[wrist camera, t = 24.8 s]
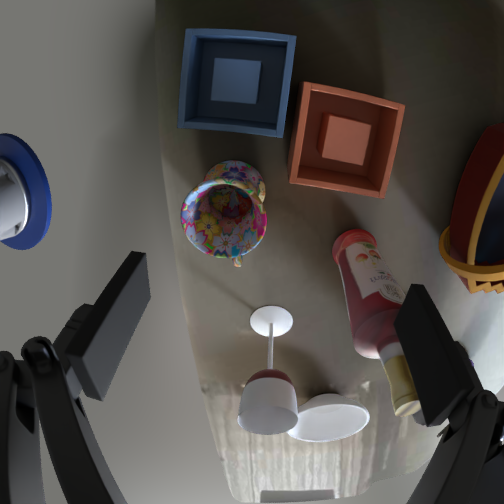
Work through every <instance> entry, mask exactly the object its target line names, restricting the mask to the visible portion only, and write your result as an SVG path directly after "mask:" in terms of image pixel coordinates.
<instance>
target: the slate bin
mask: <svg viewBox="0 0 504 504" xmlns="http://www.w3.org/2000/svg"><path fill="white" fill-rule="evenodd" d="M295 43H296V36H294V35H287V34H279V33H271V32H261V31H250V30H236V29H208V28H194V29H186V32H185V40H184V49H183V59H182V69H181V81H180V93H179V107H178V124H177V128H188V129H204V130H217V131H228V132H239V133H248V134H257V135H265V136H273V137H280V138H283V132H284V125H285V118H286V111H287V103H288V96H289V88H290V81H291V74H292V66H293V58H294V51H295ZM215 58H228V59H243V60H254V61H261V63H262V65H263V66H262V75H261V83H260V91H259V100H258V103H256V104H248V103H238V102H225V101H211V91H212V80H213V70H214V61H215Z"/></svg>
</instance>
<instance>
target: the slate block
mask: <svg viewBox="0 0 504 504" xmlns="http://www.w3.org/2000/svg"><path fill="white" fill-rule="evenodd" d="M262 66H263V65H262V63H261V61H254V60H243V59H228V58H215V61H214V70H213V80H212V91H211V101H225V102H238V103H248V104H256V103H258V100H259V91H260V83H261V75H262Z"/></svg>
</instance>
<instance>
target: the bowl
mask: <svg viewBox="0 0 504 504" xmlns="http://www.w3.org/2000/svg"><path fill="white" fill-rule="evenodd" d="M297 409H298V423H297V424H296V426H295V427H293V428H292V429H290V430H288V431H286V432H287V433H288V434H289V435H290V436H292V437H294V438H296V439H299V440H303V441H309V442H325V441H333V440H338V439H341V438H345V437H347V436H350V435H352V434H354V433H356V432H358V431H359V430H361V429H362V428H363V427H364V426H366V424H367V423H368V421H369V413H368V411H367V409H366V408H365V407H364V406H363V405H362V404H361V403H359V402H358V401H356V400H354V399H350V398H346V397H343V396H341V395H338V394H322V395H318V396H315V397H313V398H311V399H310V400H309V401H308V402H307V403H304V404H303V405H301V406H299V407H298V408H297Z"/></svg>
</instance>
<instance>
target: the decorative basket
mask: <svg viewBox="0 0 504 504" xmlns="http://www.w3.org/2000/svg"><path fill="white" fill-rule="evenodd" d="M439 251H440V254H441V256H442V258H443V259H444V261H445V262H446V264H447V265H448V267H449V268H450V269H451V270H452V271H453V272H455V273H456V274H457V275H458V276H459V278H460V279H461V280H462V282H463V283H464V285H465V286H466V288H467V289H468V290H469V292H470V293H471V294H472V293H475V292H478V291H481V290H483V291H484V292H485V293H488V292H491V291H493V290H495V291H496V292H497V294H498V293H501V292H503V291H504V123H498V124H495V125H491V126H487V128H486V129H485V131H484V132H483V134H482V135H481V137H480V139H479V140H478V142H477V144H476V146H475V148H474V150H473V152H472V154H471V156H470V158H469V160H468V162H467V165H466V167H465V170H464V172H463V174H462V177H461V180H460V183H459V186H458V189H457V192H456V196H455V201H454V205H453V210H452V216H451V222H450V225H449V226H448V227H447V228H446V229H445V230H444V231H443V233H442V234H441V236H440V239H439ZM450 254H451V256H450Z"/></svg>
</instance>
